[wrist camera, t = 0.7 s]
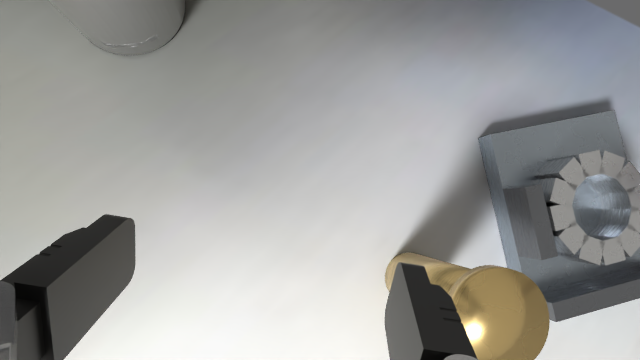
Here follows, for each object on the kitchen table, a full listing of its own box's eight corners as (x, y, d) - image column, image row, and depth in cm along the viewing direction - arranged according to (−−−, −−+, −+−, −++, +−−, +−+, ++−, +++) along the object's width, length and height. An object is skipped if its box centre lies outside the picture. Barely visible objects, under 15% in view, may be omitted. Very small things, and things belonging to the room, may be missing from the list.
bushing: (372, 253, 35) (444, 281, 21) (431, 239, 36) (536, 257, 22) (386, 316, 35) (467, 386, 21) (444, 300, 36) (559, 358, 22)
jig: (478, 138, 37) (511, 127, 32) (596, 114, 39) (644, 101, 34) (516, 306, 37) (556, 322, 32) (635, 274, 39) (690, 283, 34)
